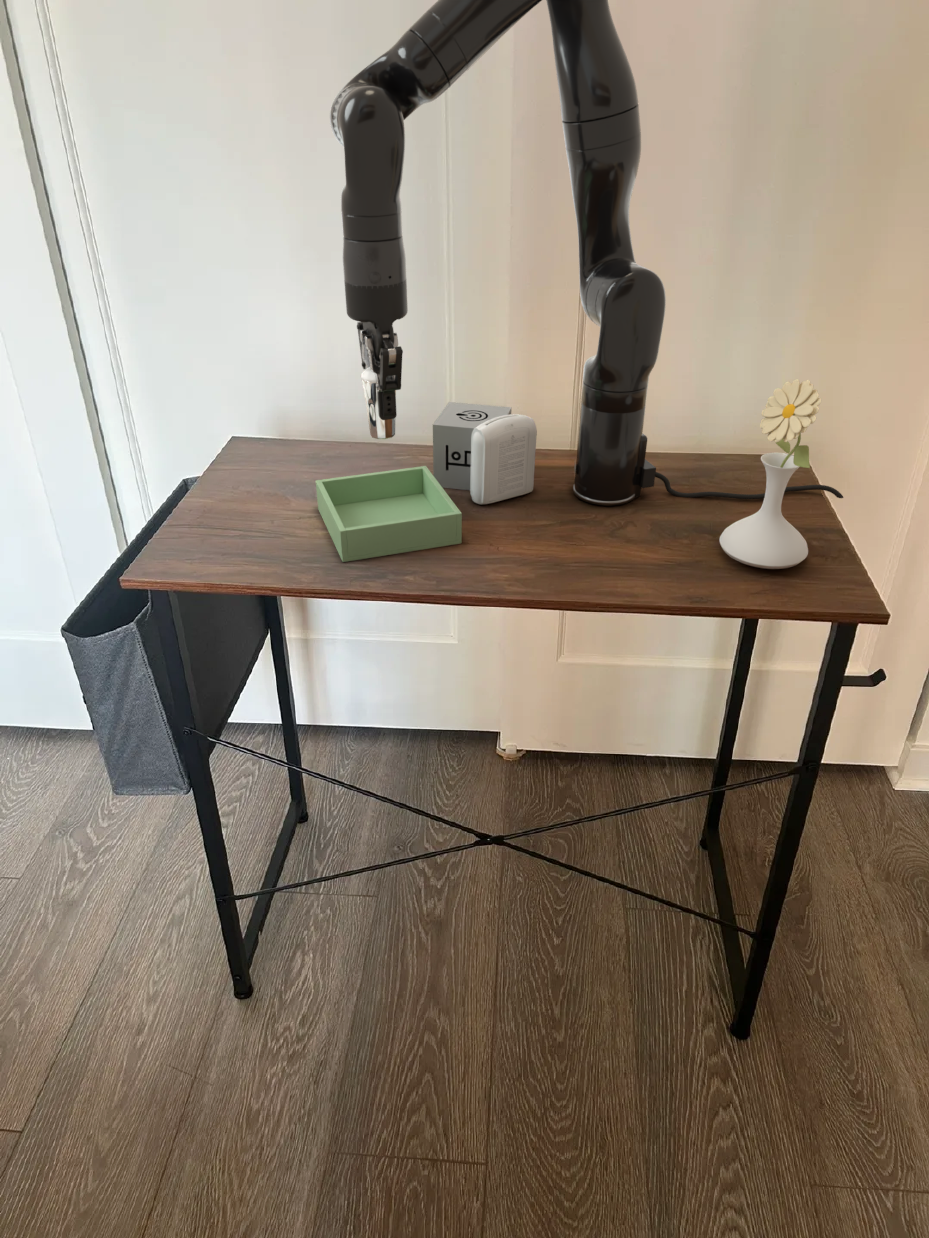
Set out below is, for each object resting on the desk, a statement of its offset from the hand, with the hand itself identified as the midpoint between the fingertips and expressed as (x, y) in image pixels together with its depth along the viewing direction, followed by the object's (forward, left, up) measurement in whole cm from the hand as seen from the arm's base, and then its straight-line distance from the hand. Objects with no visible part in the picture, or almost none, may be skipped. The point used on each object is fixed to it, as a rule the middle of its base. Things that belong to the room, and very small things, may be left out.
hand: (382, 411), depth 118 cm
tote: (0, 0, -17) cm, 17 cm away
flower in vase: (-45, +25, -17) cm, 54 cm away
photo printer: (-19, -4, -17) cm, 26 cm away
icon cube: (-17, -12, -17) cm, 27 cm away
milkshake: (0, 0, -3) cm, 3 cm away
